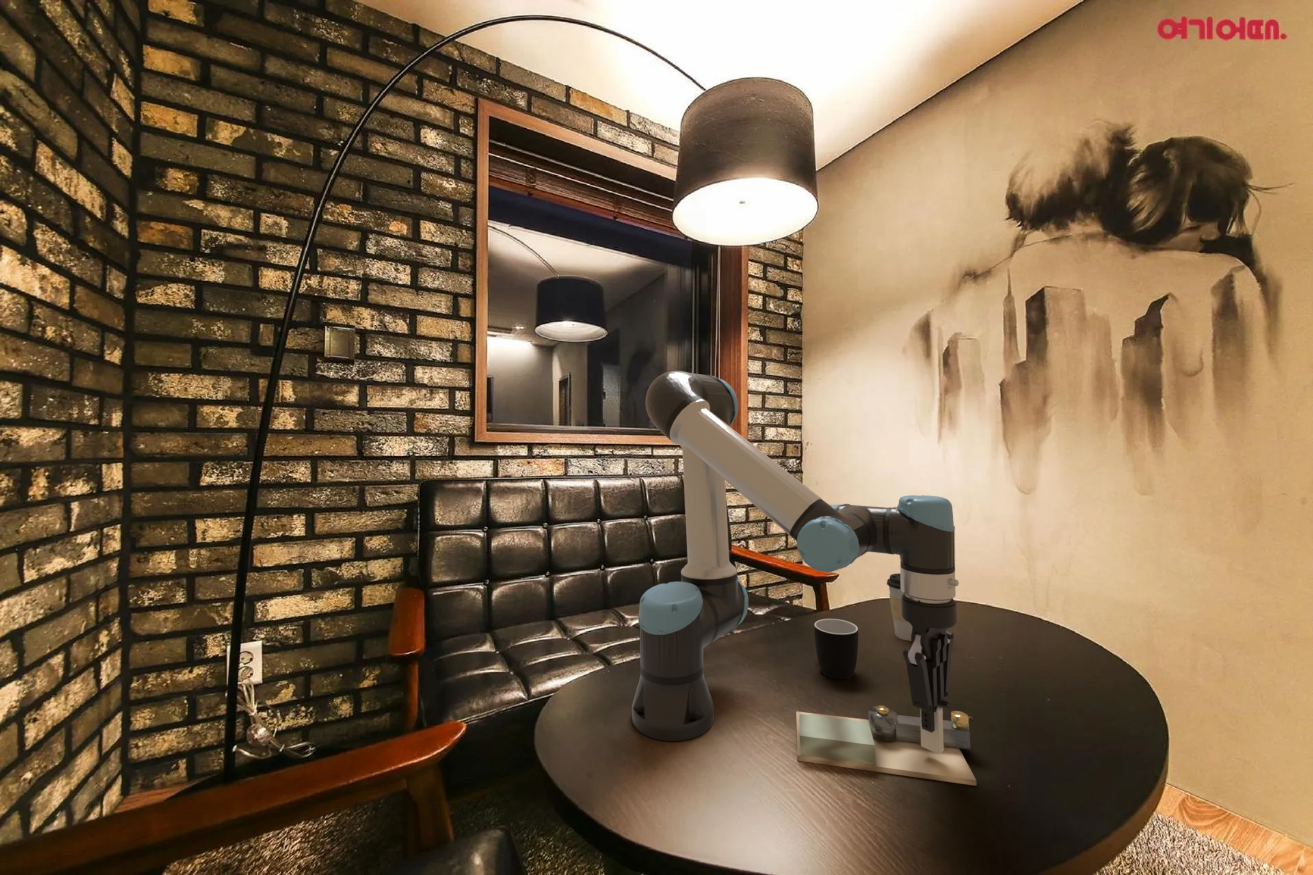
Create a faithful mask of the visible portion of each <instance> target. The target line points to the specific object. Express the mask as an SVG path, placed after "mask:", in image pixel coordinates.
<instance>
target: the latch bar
mask: <svg viewBox="0 0 1313 875" xmlns="http://www.w3.org/2000/svg"><path fill="white" fill-rule="evenodd" d="M867 712H868V720H869V726H870V729H871V733H872V737H874V738H875V739H877V740H880V741H883V742H894V741H896V740H899V741H907V742H915V743H921V726H920V716H919V717H918V716H911V715H910V716H909V715H908V716H907V715H901V714H897V712H896V711H895V710H893V709H891V708H890V707H887V706H885V705H876V706H875V705H874V706H870V707H869V708H868V711H867ZM969 720H970V719H969V715H968V714H967V713H966V712H963V711H960V710H952V711H951V712H950V720H947V719H946V720H945V719H943V746H947V747H955V748H959V749H965V750H971V731H970V726H969Z"/></svg>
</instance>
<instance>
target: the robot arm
mask: <svg viewBox="0 0 1313 875" xmlns="http://www.w3.org/2000/svg"><path fill="white" fill-rule="evenodd" d="M645 410H646V413H647V416H648V417H649V420H650V422H651V423H652V424H653V425H654V427H656V429H657V430H658V431H660V433H662V434H663V435H664V436H665V437H666V438H668V440H670V442H672V443H673V444H675V445H679V446H680V447H681V449H682V450H681V452H682V467H683V489H684V492H683V494H684V510H685V529H686V530H685V532H686V549H687V550H686V554H687V564H686V565H684V567H682V569H681V570H680V576H681V578H680V579H681V581H669V582H668V583H664V582H663V583H659V584H657V585H654V586H652V587H651V588H649V589H647V590H646V591H645V592H644V593H643V594H642V596H641V597H640V600H639V611H638V619H637V620H638V628H639V629H638V630H639V631H638V632H639V636H638V637H639V661H640V663H639V665H640V677H639V680H638V684H637V686H636V690H635V694H634V696H633V697H634V698H633V699H632V705H631V720H632V721H631V722H632V724H633V726H634V728H635V729H636V730H637V731H639V732H640V733H641V734H642V735H645V736H646V737H648V738H652V739H655V740H659V741H664V742H666V741H667V742H681V741H689V740H692V739H694V738H697V737H699V736H702V735H703V734H705V733H707V732H708V731H709V730H710V728H712V726H713V724H714V721H715V706H714V702H713V698H712V695H711V693H710V691H709V690H710V689H709V688H708V684H707V681H706V678H705V674H704V648H705V647H708V646H709V645H710V644H712V643H714V642H716V641H717V640H718V639H719V638H721V637H723V636H726V635H728V634H730V633H732V632H733V631H734V630H735V629H736V628H737V627H738V626H739V625H740V624H742V622H743V621H744V620H745V618H746V616H747V613H748V610H749V596H748V591H747V589H746V587H745V585H744V584H742V580H740V578H738V577H739V576H738V570H737V569H738V568H736V567H735V566H734V565H733V564H732V563H731V561H730V553H729V552H730V551H729V549H730V548H729V530H728V511H727V491H726V483H728V484H729V485H730V486H732V487H733V488H734V489H735V490H736V491H737V492H739V493H740V494H741V495H742V496H743V497H744V498H745V499H747V500H748V501H749V502H751V503H752V504H753V505H754V506H755V507H756V508H757V509H759V511H761V512H762V513H763V514H764V515H765V516H766V517H768V518H769V519H770V520H771V521H773V522H774V523H775V524H776V525H777V526H778V528H781V529H782V530H783V531H784V532H785V533H787V535H789V537H790V538H792V539H793V540H794V541H796V548H797V551H798V552H799V555H800V557H801V559H802V561H803V562H804V563H805V564H806V565H807V566H809V568H811V569H813V570H816V571H818V572H822V573H831V572H836V571H838V570H839V571H840V570H842V569H845V568H847V567H848V566H850V565H851V564H853V563H854V562H855V561H856V560H857V559H858V558H860V557H863V555H865V554H866V553H876V554H885V555H886V554H887V555H897V556H899V559H900V566H899V570H900V577H901V591H902V592H903V593H904V594H903V595H902V596H901V607H902V617H903V618H904V619H905V620H906V621H907V622H909V623H910V624H911V625H912V633H911V641H910V644H911V647H910V649H907V648H904V649H903V651H902V656H903V658H904V660H905V663H906V669H907V677H908V683H909V690H910V696H911V703H912V706H913V707H914V708H915V707H916V708H919V717H920V726H921V746H922V747H924V748H926V749H928V750H931V751H933V752H935V753H937V754H941V753H942V752H943V751H944V746H943V720H944V718H943V716H944V715H943V714H944V712H943V711H944V710H943V708H946V709H949V707H950V702H949V701H946V700H945V698H946V699H947V698H948V697H949V694H950V692H949V690H950V675H951V665H952V663H951V661H952V650H953V649H952V647H953V642H954V639H955V635H954V633H953V632H950V631H947V629H951V628H953V627H955V626H956V624H958V623H957V622H958V620H957V619H958V616H957V615H958V614H957V602H956V601H955V597H956V591H957V590H956V587H958V586H959V585H960V582H959V580H958V579H956V559H955V558H956V543H955V541H956V539H955V537H956V534H955V533H956V526H955V524H954V510H953V504H952V502H951V501H950V500H948V499H947V498H945V497H943V496H942V497H941V496H938V495H916V494H915V495H913V494H912V495H904V496H900V498H899V499H898V504H897V506H894V507H890V506H889V507H884V506H881V507H880V506H871V505H870V506H869V505H856V504H850V503H844V504H843V503H842V504H829V503H827V501H825V500H823V499H822V497H820V496H819V495H818V494H816V492H814V491H813V490H812V489H810V488H809V487H808V486H806V485H805V484H803V482H801V481H800V480H798V479H797V478H796V477H795V476H793V475H792V474H791V473H790V472H788V471H787V470H786V469H785V468H783V467H782V466H781V465H779V464H778V463H777V462H776V461H775V460H773V459H772V458H770V457H769V456H768V455H766V453H764V452H762V451H761V450H760V449H759V448H758V447H756V446H755V445H754V444H753V443H751V442H750V441H748V440H747V439H746V438H745V437H743V436H742V435H741V434H740V433H739V432H737V431H736V430H735V429H734V428H732V427H731V426H732V425H733V423H734V422H735V420H736V418H737V416H738V414H739V399H738V397H737V395H736V392H735V390H734V388H733V387H732V386H731V385H730V383H728V382H727V381H725V380H724V379H722V378H718V377H716V376H714V375H710V374H699V373H693V372H688V371H682V370H671V371H667V372H664V373H662V374H661V375H658V376H657V377H655V379H654V380H653V381H652V382H651V383H650V385H649V387H648V389H647V391H646V396H645Z"/></svg>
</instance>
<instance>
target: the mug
mask: <svg viewBox="0 0 1313 875" xmlns="http://www.w3.org/2000/svg"><path fill="white" fill-rule="evenodd" d="M813 630H814V631H813V633H814V644H815V651H816V656H817V657H816V658H817V661H818V666H819V668H820V671H821V673H822V674H823V675H824V676H825V677H828V678H831V679H834V680H848V679H851V678H852V677H853V675H854V674H855V671H856V667H857V661H858V652H859V627H858V626H857V625H856V624H854V623H852V622H850V621H848V620H843V619H838V618H823V619H822V618H821V619H819V620H817V621H815V622H814V626H813Z"/></svg>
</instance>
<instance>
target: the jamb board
mask: <svg viewBox="0 0 1313 875" xmlns="http://www.w3.org/2000/svg"><path fill="white" fill-rule="evenodd" d="M795 714H796V717H795V718H796V752H797V753H796V754H797V755H796V757H797V761H800V762H804V763H805V762H807V763H814V764H821V765H828V766H836V767H842V768H849V769H855V770H863V771H869V772H877V773H884V774H891V775H898V776H903V777H904V776H905V777H912V778H919V779H925V780H926V779H927V780H932V781H933V780H935V781H940V782H949V783H955V784H962V785H968V786H977V779H976V777H975V775H974V774H973V772H972V770H971V767H970V766H969V764H968V763H967V762H968V761H966V759H965V757H964V755H963V753H962V751H961V750H960V749H961V748H955V747H947V746H944V751H943V752H942V753H941V754H937V753H935V752H933V751H931V750H928V749H926V748H924V747H922V746H921V743H915V742H907V741H899V740H896V741H894V742H883V741H880V740H877V739H875V738H874V737H872V733H871V729H870V726H869V719H865V718H856V717H847V716H838V715H831V714H822V713H814V712H813V713H812V712H806V711H805V712H803V711H796V713H795Z"/></svg>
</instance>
